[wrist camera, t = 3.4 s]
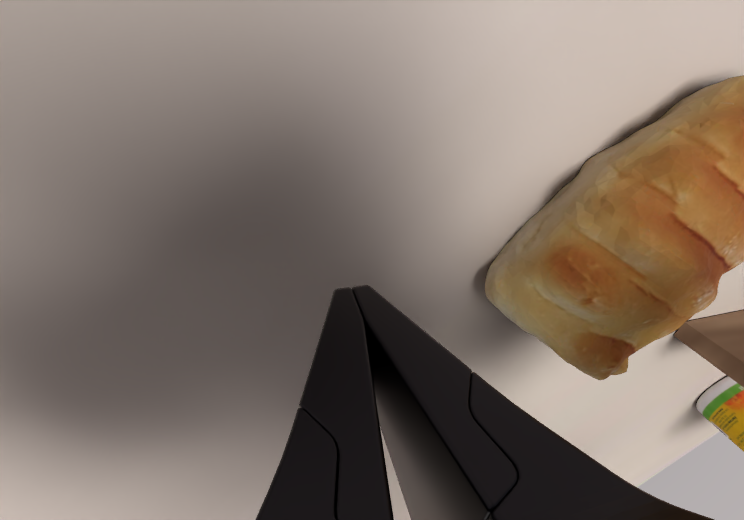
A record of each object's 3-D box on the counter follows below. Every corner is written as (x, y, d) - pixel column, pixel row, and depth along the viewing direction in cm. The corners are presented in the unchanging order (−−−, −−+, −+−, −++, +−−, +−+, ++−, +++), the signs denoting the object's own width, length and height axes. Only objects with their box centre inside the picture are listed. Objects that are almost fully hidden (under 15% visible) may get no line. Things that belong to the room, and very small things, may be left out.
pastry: (700, -1, 8) (974, -28, 5) (761, 143, 11) (947, 182, 8) (456, 282, 11) (524, 374, 8) (557, 329, 14) (634, 406, 11)
